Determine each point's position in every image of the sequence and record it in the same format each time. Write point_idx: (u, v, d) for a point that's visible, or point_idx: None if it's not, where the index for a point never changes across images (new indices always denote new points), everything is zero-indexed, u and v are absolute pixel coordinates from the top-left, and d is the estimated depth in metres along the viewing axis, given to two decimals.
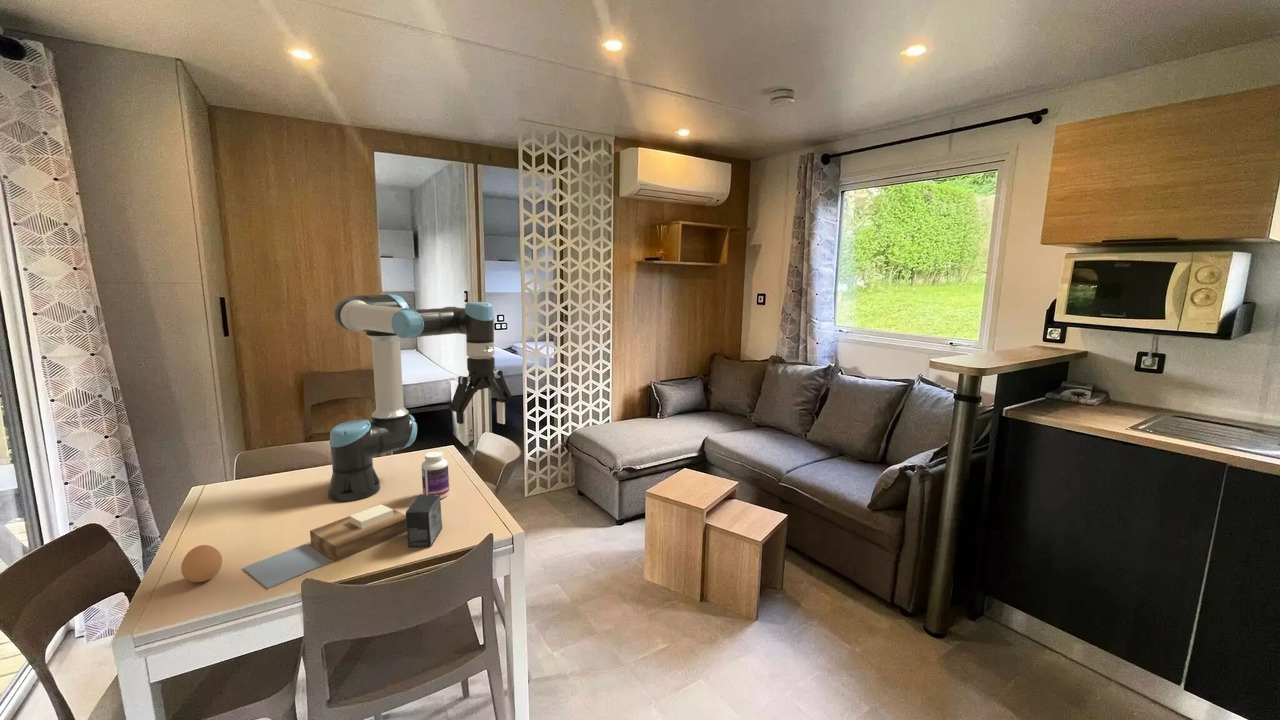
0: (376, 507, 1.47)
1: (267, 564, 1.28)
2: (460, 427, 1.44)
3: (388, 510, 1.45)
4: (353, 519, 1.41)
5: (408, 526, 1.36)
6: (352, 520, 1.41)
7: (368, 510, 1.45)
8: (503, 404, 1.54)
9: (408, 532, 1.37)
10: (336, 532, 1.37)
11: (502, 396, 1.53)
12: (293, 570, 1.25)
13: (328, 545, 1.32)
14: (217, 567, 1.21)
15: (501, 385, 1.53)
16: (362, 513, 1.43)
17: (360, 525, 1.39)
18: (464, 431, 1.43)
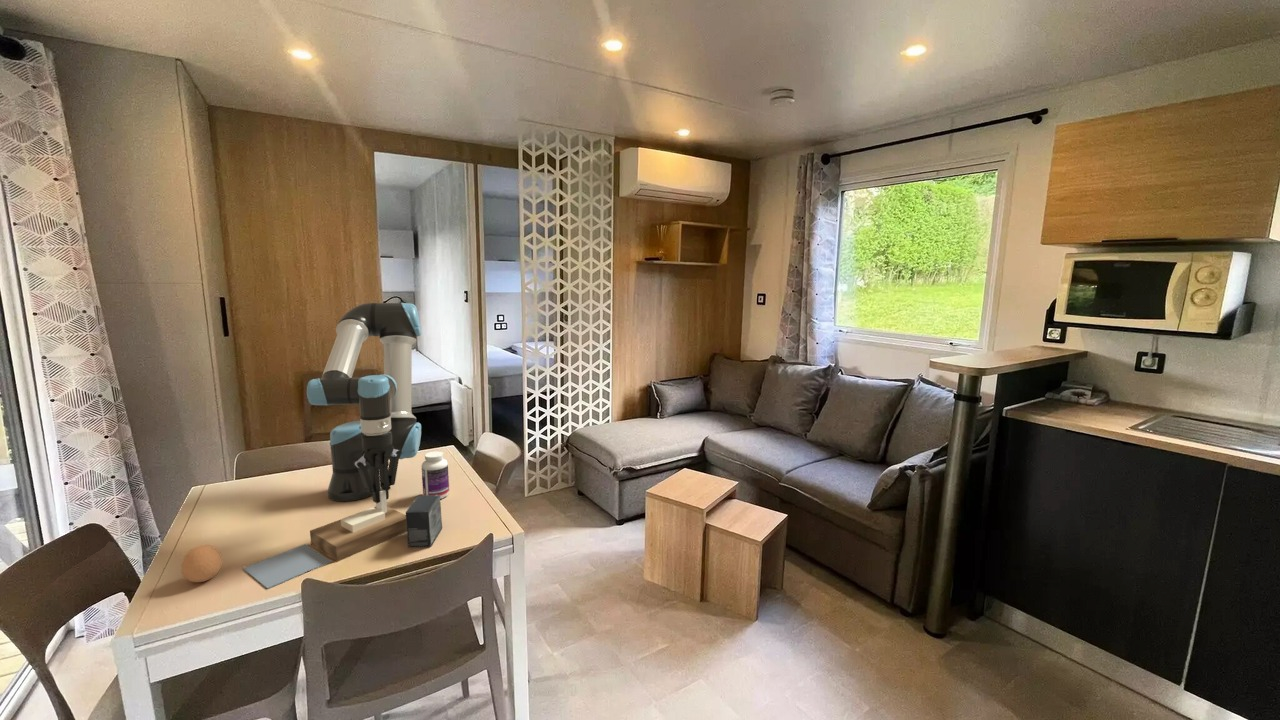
0: (368, 510, 1.45)
1: (267, 564, 1.28)
2: (377, 505, 1.45)
3: (380, 513, 1.43)
4: (344, 522, 1.39)
5: (408, 526, 1.36)
6: (343, 523, 1.39)
7: (359, 513, 1.43)
8: (384, 492, 1.45)
9: (408, 532, 1.37)
10: (336, 532, 1.37)
11: (386, 481, 1.45)
12: (293, 570, 1.25)
13: (328, 545, 1.32)
14: (217, 567, 1.21)
15: (392, 466, 1.47)
16: (353, 516, 1.41)
17: (351, 529, 1.37)
18: (381, 510, 1.45)
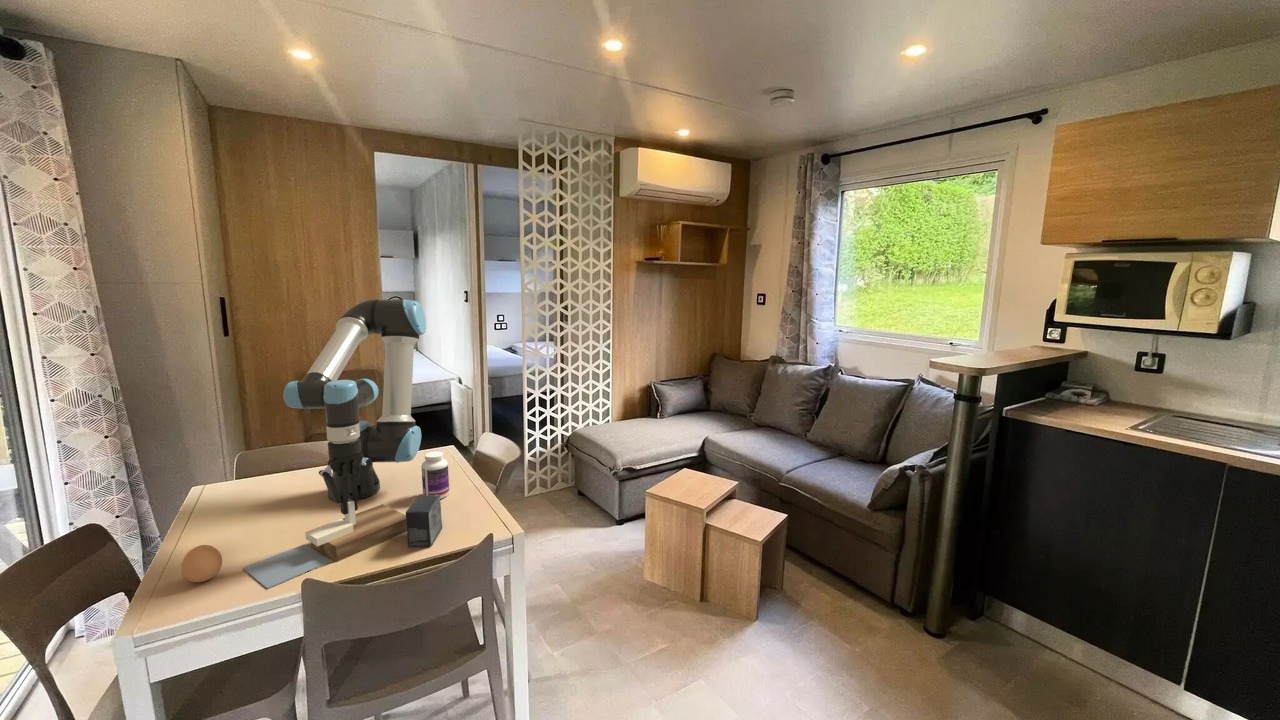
0: (335, 522, 1.38)
1: (267, 564, 1.28)
2: (345, 517, 1.38)
3: (347, 525, 1.36)
4: (309, 536, 1.31)
5: (408, 526, 1.36)
6: (308, 536, 1.32)
7: (326, 525, 1.36)
8: (352, 503, 1.37)
9: (408, 532, 1.37)
10: None
11: (355, 491, 1.38)
12: (293, 570, 1.25)
13: (328, 545, 1.32)
14: (217, 567, 1.21)
15: (361, 475, 1.39)
16: (319, 529, 1.34)
17: (316, 542, 1.30)
18: (349, 521, 1.37)
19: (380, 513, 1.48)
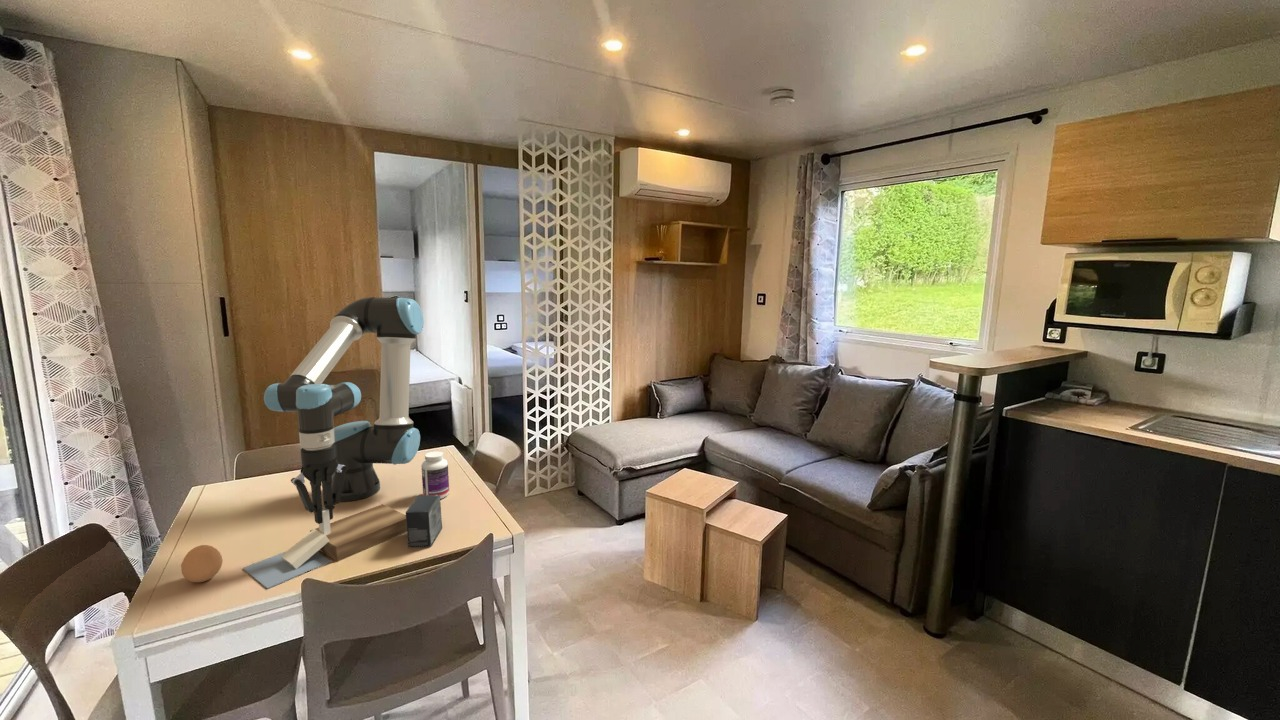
0: (308, 535, 1.32)
1: (267, 564, 1.28)
2: (320, 526, 1.33)
3: (320, 537, 1.31)
4: (285, 559, 1.27)
5: (408, 526, 1.36)
6: (284, 560, 1.28)
7: (300, 542, 1.31)
8: (327, 512, 1.32)
9: (408, 532, 1.37)
10: (336, 532, 1.37)
11: (330, 499, 1.32)
12: (293, 570, 1.25)
13: (328, 545, 1.32)
14: (217, 567, 1.21)
15: (336, 483, 1.34)
16: (293, 549, 1.29)
17: (293, 566, 1.26)
18: (324, 531, 1.32)
19: (380, 513, 1.48)
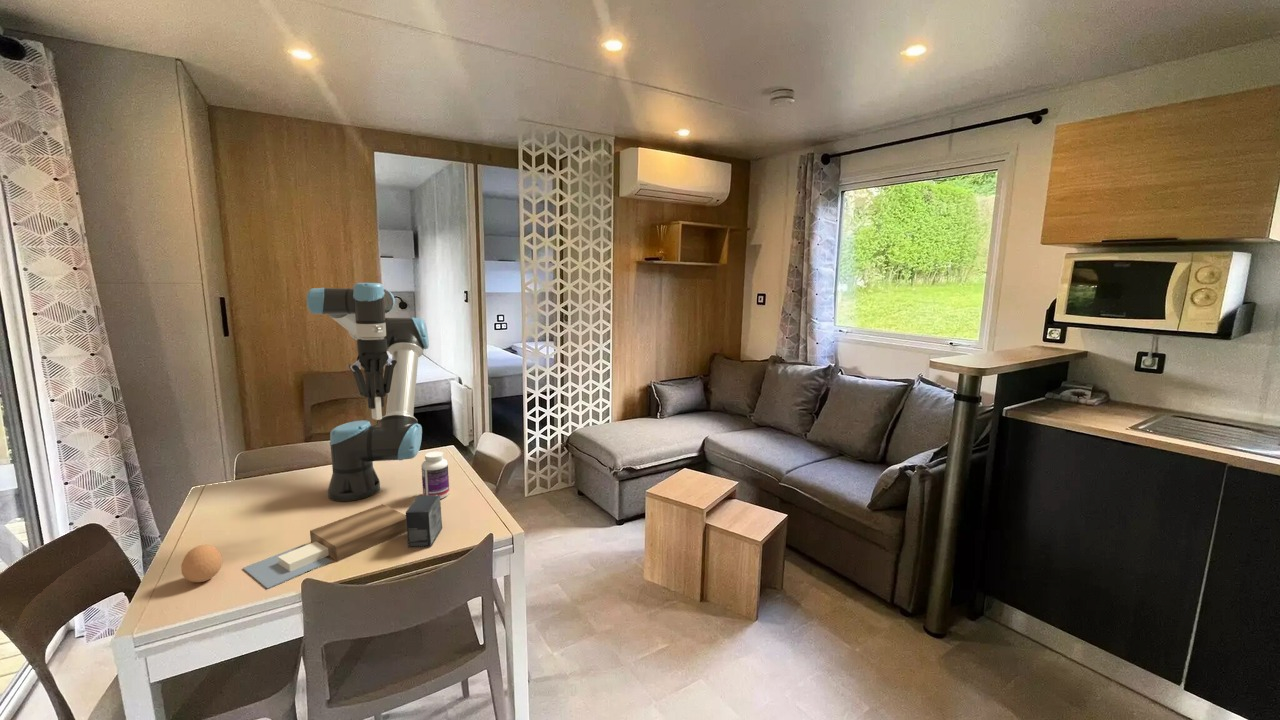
0: (310, 545, 1.33)
1: (267, 564, 1.28)
2: (372, 412, 1.49)
3: (322, 549, 1.31)
4: (281, 560, 1.27)
5: (408, 526, 1.36)
6: (280, 561, 1.27)
7: (300, 549, 1.31)
8: (379, 398, 1.48)
9: (408, 532, 1.37)
10: (336, 532, 1.37)
11: (381, 388, 1.48)
12: None
13: (328, 545, 1.32)
14: (217, 567, 1.21)
15: (387, 374, 1.50)
16: (292, 553, 1.29)
17: (288, 567, 1.25)
18: (376, 416, 1.48)
19: (380, 513, 1.48)
